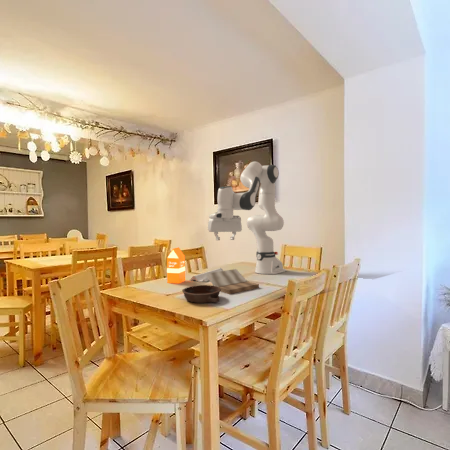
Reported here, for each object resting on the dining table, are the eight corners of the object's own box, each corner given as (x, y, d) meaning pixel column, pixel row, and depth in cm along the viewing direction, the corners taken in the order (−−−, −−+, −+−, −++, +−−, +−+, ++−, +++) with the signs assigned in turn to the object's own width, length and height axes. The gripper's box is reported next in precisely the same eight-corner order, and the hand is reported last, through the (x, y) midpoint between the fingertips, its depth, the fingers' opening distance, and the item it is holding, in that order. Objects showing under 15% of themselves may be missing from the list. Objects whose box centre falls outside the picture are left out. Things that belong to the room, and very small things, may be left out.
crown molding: (205, 283, 172) (205, 277, 172) (188, 281, 178) (188, 275, 178) (231, 274, 199) (231, 268, 199) (216, 272, 205) (215, 267, 205)
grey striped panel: (235, 271, 172) (236, 269, 171) (246, 283, 165) (247, 281, 164) (206, 276, 160) (207, 273, 159) (216, 289, 153) (218, 286, 152)
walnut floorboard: (247, 284, 164) (247, 281, 164) (258, 287, 157) (258, 283, 156) (218, 290, 152) (218, 286, 152) (229, 294, 144) (229, 289, 144)
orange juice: (167, 282, 172) (166, 248, 172) (173, 279, 181) (173, 247, 180) (179, 283, 170) (178, 248, 170) (185, 280, 179) (185, 247, 178)
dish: (199, 292, 150) (199, 282, 150) (232, 299, 136) (232, 289, 135) (171, 299, 137) (171, 289, 137) (204, 308, 123) (204, 297, 122)
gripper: (237, 215, 172) (237, 239, 172) (206, 215, 161) (206, 240, 161) (244, 215, 167) (243, 239, 167) (212, 214, 156) (212, 240, 156)
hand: (225, 240), depth 164 cm, fingers open, 8 cm apart
